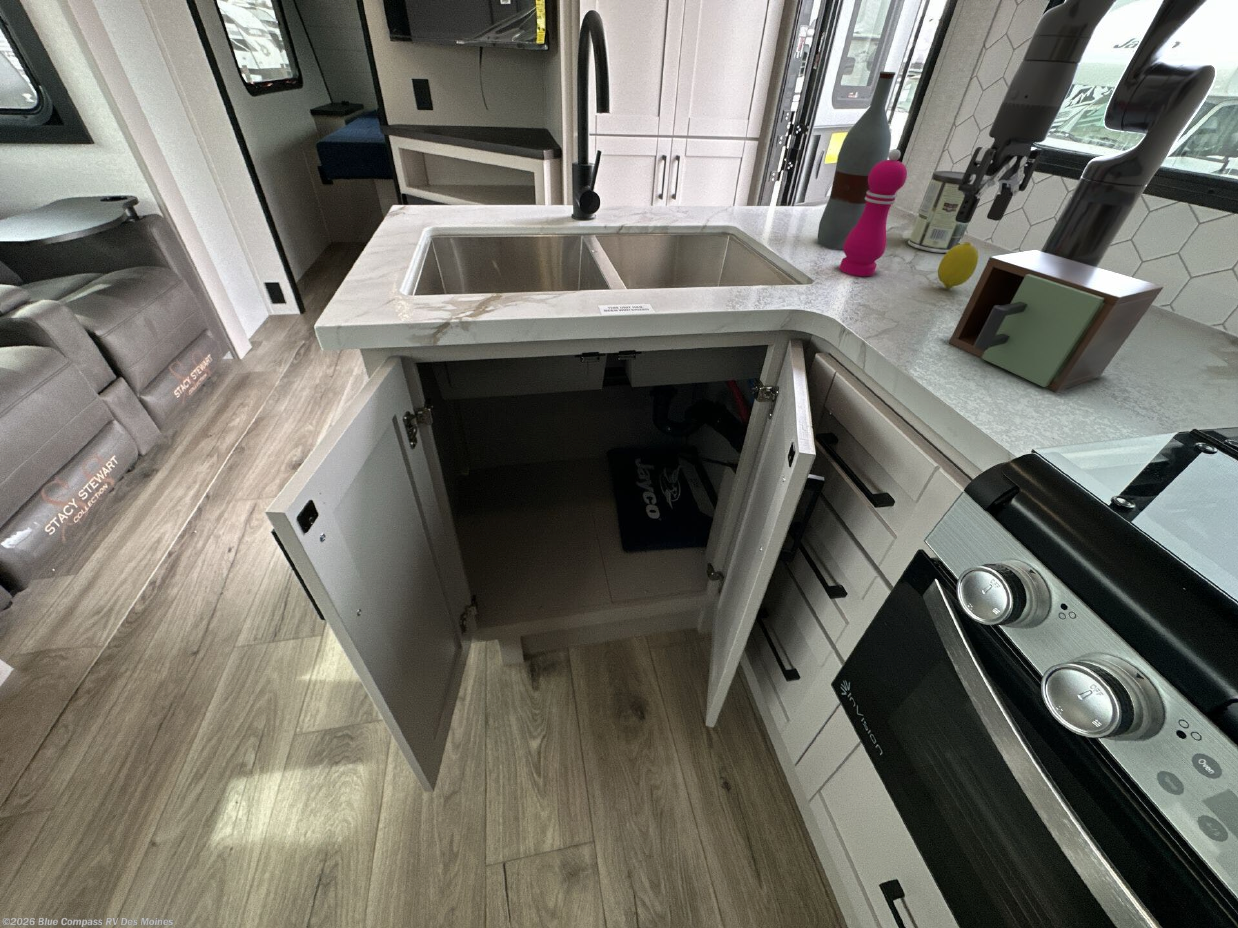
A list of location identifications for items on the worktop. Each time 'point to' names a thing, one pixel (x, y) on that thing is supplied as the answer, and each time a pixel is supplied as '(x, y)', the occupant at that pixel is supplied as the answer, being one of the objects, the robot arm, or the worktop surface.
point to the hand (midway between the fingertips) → (977, 221)
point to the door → (1037, 328)
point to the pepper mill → (874, 218)
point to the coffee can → (940, 214)
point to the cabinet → (1120, 291)
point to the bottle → (856, 168)
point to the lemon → (958, 265)
